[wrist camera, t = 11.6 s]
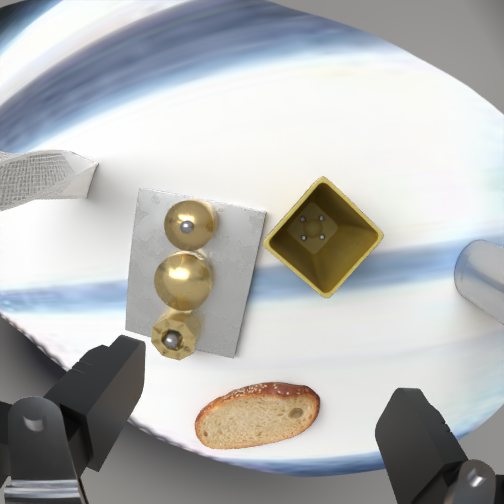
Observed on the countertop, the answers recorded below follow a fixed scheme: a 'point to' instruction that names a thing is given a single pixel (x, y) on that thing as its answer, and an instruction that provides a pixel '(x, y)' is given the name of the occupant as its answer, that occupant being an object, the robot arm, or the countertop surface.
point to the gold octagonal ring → (178, 322)
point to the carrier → (192, 266)
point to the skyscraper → (43, 176)
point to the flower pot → (335, 237)
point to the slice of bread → (257, 415)
